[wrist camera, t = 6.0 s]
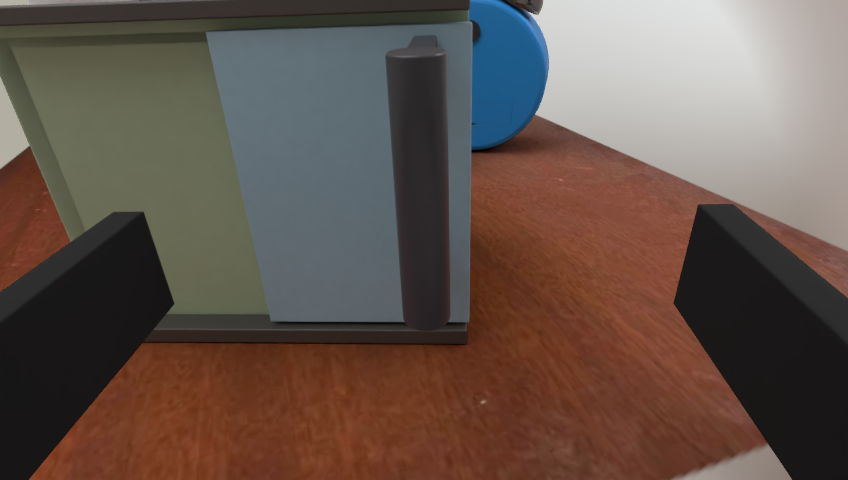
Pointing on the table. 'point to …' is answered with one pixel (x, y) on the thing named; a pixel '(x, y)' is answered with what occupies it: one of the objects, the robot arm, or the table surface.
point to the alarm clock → (505, 69)
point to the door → (354, 167)
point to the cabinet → (172, 144)
